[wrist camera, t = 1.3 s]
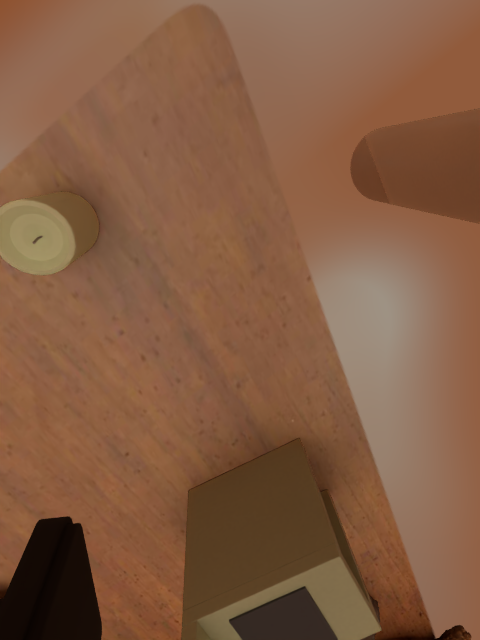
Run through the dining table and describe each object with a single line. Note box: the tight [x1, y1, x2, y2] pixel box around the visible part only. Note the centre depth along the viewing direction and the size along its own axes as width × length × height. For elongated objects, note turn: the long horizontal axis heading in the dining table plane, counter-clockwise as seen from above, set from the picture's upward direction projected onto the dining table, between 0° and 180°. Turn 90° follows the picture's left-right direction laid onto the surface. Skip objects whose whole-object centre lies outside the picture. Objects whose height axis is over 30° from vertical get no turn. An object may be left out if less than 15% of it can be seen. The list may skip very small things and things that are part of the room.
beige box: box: [181, 438, 382, 640], centre depth 38 cm, size 12×8×17 cm, turn 117°
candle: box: [0, 191, 99, 275], centre depth 32 cm, size 5×5×8 cm
